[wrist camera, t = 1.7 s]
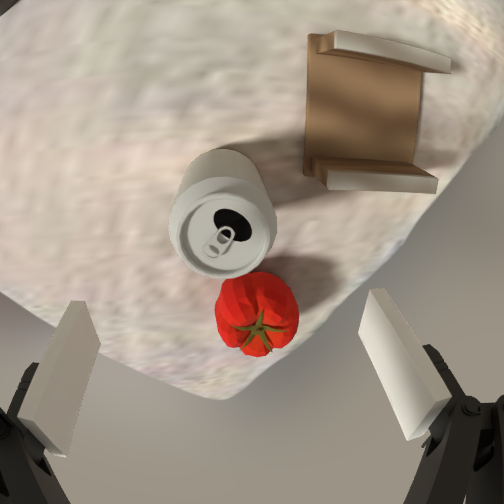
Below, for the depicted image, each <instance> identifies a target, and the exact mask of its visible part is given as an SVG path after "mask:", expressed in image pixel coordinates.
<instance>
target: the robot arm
mask: <svg viewBox="0 0 504 504" xmlns="http://www.w3.org/2000/svg"><path fill="white" fill-rule="evenodd" d="M15 1H16V0H0V15H1V14H3V13H4V12H5V11H6V10H7V9H8V8H9V7H11V6H12V5H13V4H14V3H15ZM358 334H359V336H360V338H361V340H362V342H363V344H364V346H365V348H366V350H367V352H368V355H369V356H370V359H371V361H372V363H373V365H374V367H375V369H376V372H377V374H378V376H379V378H380V380H381V383H382V385H383V387H384V389H385V391H386V394H387V396H388V398H389V400H390V403H391V405H392V407H393V409H394V412H395V414H396V416H397V419H398V421H399V423H400V426H401V428H402V430H403V433H404V435H405V438H406V440H407V441H408V440H411V439H414V438H417V437H420V436H423V434H424V433H425V432H426V431H427V429H428V428H429V430H430V432H431V435H430V436H429V437H428V439H427V440H426V441H425V442H424V443H423V445H422V446H421V447H422V448H424V447H425V445H426V444H427V445H426V448H425V451H424V453H423V456H422V459H421V462H420V465H419V467H418V470H417V473H416V475H415V478H414V480H413V483H412V485H411V487H410V490H409V492H408V494H407V497H406V499H405V501H404V503H403V504H463V502H464V498H465V495H466V502H465V504H504V395H502V396H501V397H499V399H498V400H497V401H496V402H495V403H480V402H479V401H478V400H477V399H476V398H474V397H472V396H466V395H465V393H464V392H463V390H462V389H461V387H460V385H459V384H458V382H457V380H456V379H455V377H454V375H453V374H452V372H451V371H450V369H448V366H447V364H446V363H445V362H444V359H443V358H442V356H441V355H440V353H439V352H438V351H437V350H436V349H435V348H433V347H432V346H431V345H430V344H428V345H423V346H422V345H421V344H420V342H419V340H418V339H417V337H416V336H415V334H414V333H413V331H412V329H411V328H410V326H409V325H408V323H407V322H406V320H405V319H404V317H403V316H402V314H401V313H400V311H399V310H398V308H397V307H396V306H395V304H394V302H393V301H392V299H391V298H390V296H389V295H388V294H387V292H386V291H385V289H384V288H378V289H370V290H369V294H368V298H367V302H366V306H365V310H364V313H363V317H362V321H361V324H360V328H359V331H358ZM100 345H101V343H100V341H99V338H98V335H97V333H96V330H95V328H94V325H93V322H92V320H91V317H90V314H89V311H88V308H87V305H86V303H85V301H71V302H70V304H69V306H68V307H67V309H66V311H65V313H64V315H63V317H62V319H61V321H60V322H59V324H58V326H57V328H56V331H55V332H54V334H53V336H52V338H51V340H50V342H49V345H48V346H47V349H46V350H45V353H44V355H43V357H42V359H41V361H40V363H34V362H33V363H32V364H31V365H30V366H29V367H28V368H27V369H26V370H25V372H24V374H23V377H22V379H21V382H20V383H19V386H18V390H16V392H15V395H14V397H13V399H12V402H11V404H10V406H9V409H8V411H7V414H5V412H4V411H3V410H2V409H1V408H0V504H70V502H69V500H68V498H67V497H66V495H65V493H64V491H63V490H62V488H61V486H60V484H59V482H58V480H57V478H56V476H55V475H54V472H53V471H52V469H51V466H50V464H49V462H48V461H47V458H46V457H45V455H44V454H43V453H44V449H45V448H46V449H47V450H48V451H49V452H50V453H51V454H53V455H58V456H62V457H66V458H67V457H68V453H69V448H70V444H71V440H72V436H73V432H74V429H75V425H76V421H77V418H78V414H79V411H80V407H81V404H82V400H83V397H84V393H85V390H86V387H87V384H88V381H89V377H90V374H91V371H92V368H93V365H94V362H95V359H96V356H97V353H98V350H99V348H100Z"/></svg>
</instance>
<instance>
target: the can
mask: <svg viewBox="0 0 504 504" xmlns="http://www.w3.org/2000/svg"><path fill="white" fill-rule="evenodd" d="M168 228H169V234H170V240H171V243H172V245H173V246H174V248H175V250H176V252H177V254H178V255H179V256H180V257H181V258H182V260H183V261H184V262H185V263H186V264H187V265H188V266H189V267H190V268H191V269H192V270H193V271H195V272H197V273H199V274H201V275H203V276H205V277H210V278H215V279H230V278H236V277H239V276H241V275H244V274H247V273H249V272H250V271H251V270H253V269H254V268H255V267H257V266H258V265H259V264H260V263H261V261H262V260H263V259H264V257H265V256H266V255H267V253H268V252H269V250H270V249H271V248H272V245H273V243H274V240H275V237H276V234H277V217H276V214H275V211H274V209H273V206H272V203H271V201H270V198H269V196H268V194H267V191H266V189H265V187H264V184H263V182H262V179H261V177H260V175H259V172H258V170H257V168H256V166H255V165H254V164H253V163H252V162H251V160H250V159H249V158H248V157H246V156H244V155H243V154H241V153H239V152H237V151H233V150H229V149H216V150H211V151H208V152H206V153H204V154H201V155H200V156H199V157H197V158H196V159H195V160H194V161H193V162H192V163H191V164H190V166H189V167H188V169H187V171H186V172H185V175H184V177H183V180H182V182H181V185H180V188H179V190H178V193H177V196H176V198H175V201H174V204H173V206H172V209H171V213H170V219H169V224H168Z"/></svg>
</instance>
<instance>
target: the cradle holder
mask: <svg viewBox="0 0 504 504" xmlns="http://www.w3.org/2000/svg"><path fill="white" fill-rule="evenodd" d="M421 72H430V73H445V74H450V72H451V58H448V57H445V56H442V55H439V54H436V53H433V52H430V51H427V50H423V49H420V48H417V47H413V46H410V45H406V44H402V43H398V42H394V41H390V40H386V39H382V38H377V37H373V36H368V35H363V34H358V33H352V32H347V31H341V30H336V31H333V32H331V33H329V34H326V35H320V34H309V35H308V65H307V102H306V127H305V148H304V167H303V174H304V175H305V176H316V177H317V178H318V179H319V180H320V181H321V182H322V183H323V184H324V185H325V187H326V188H327V189H328V190H357V191H389V192H411V193H429V194H436V190H437V185H438V180H439V179H438V178H436V177H435V176H433V175H431V174H429V173H427V172H426V171H424V170H422V169H420V168H418V167H416V166H414V165H413V157H414V150H415V142H416V133H417V123H418V113H419V101H420V85H421Z"/></svg>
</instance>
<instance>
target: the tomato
mask: <svg viewBox="0 0 504 504" xmlns="http://www.w3.org/2000/svg"><path fill="white" fill-rule="evenodd" d="M214 311H215V316H216V321H217V327H218V332H219V334H220V336H221V337H222V339H223V341H224V342H225V343H226V345H227V346H228V347H232V348H235V347H240V350H242V352H243V353H244V354H245V355H250V356H254V357H261V356H266V355H267V354H268V353H269V352H270V351H272V349H273V348H283V347H284V346H285V345H287V344H288V343H289V342H290V341H291V340H292V339H293V337H294V335H295V334H296V332H297V328H298V323H299V311H298V305H297V303H296V301H295V298H294V296H293V294H292V292H291V289H290V288H289V287H288V286H287V285H286V284H285V283H284V282H283V281H282V280H281V279H280V278H279V277H277V276H275V275H273V274H270V273H266V272H261V271H259V272H254V273H247V274H244V275H241V276H239V277H236V278H230V279H226V280H225V281H224V282H223V283H222V288H221V292H220V295H219V298H218V300H217V301H216V304H215V310H214Z"/></svg>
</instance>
